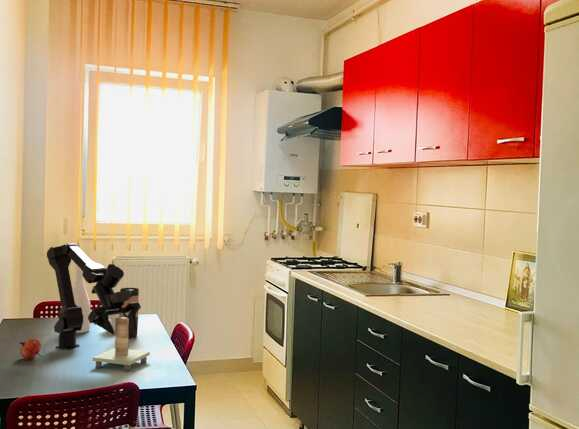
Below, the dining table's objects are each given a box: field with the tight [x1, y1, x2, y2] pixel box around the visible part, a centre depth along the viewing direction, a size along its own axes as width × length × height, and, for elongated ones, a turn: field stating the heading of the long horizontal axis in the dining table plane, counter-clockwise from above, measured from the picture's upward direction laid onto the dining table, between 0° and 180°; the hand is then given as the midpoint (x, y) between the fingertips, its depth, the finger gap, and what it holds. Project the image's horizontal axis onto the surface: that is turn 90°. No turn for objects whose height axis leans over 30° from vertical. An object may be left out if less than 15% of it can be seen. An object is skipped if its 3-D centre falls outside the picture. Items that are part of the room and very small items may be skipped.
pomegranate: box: [19, 338, 44, 361], centre depth 214 cm, size 7×7×10 cm
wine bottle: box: [72, 262, 91, 335], centre depth 257 cm, size 10×10×30 cm
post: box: [114, 317, 129, 356], centre depth 210 cm, size 4×4×12 cm
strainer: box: [108, 314, 119, 332], centre depth 262 cm, size 7×7×15 cm
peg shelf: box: [92, 347, 151, 373], centre depth 210 cm, size 14×14×4 cm
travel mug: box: [119, 287, 140, 340], centre depth 251 cm, size 8×8×20 cm
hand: (124, 331), depth 209 cm, fingers open, 9 cm apart
